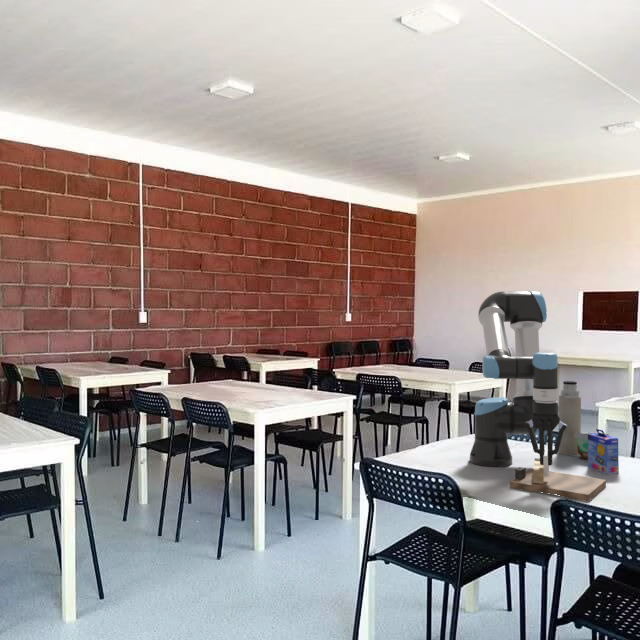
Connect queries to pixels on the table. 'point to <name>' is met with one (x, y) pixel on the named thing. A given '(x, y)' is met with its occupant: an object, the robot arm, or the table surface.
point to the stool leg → (538, 472)
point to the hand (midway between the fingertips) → (546, 475)
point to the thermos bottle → (570, 417)
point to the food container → (582, 445)
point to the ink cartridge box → (603, 453)
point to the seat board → (559, 484)
